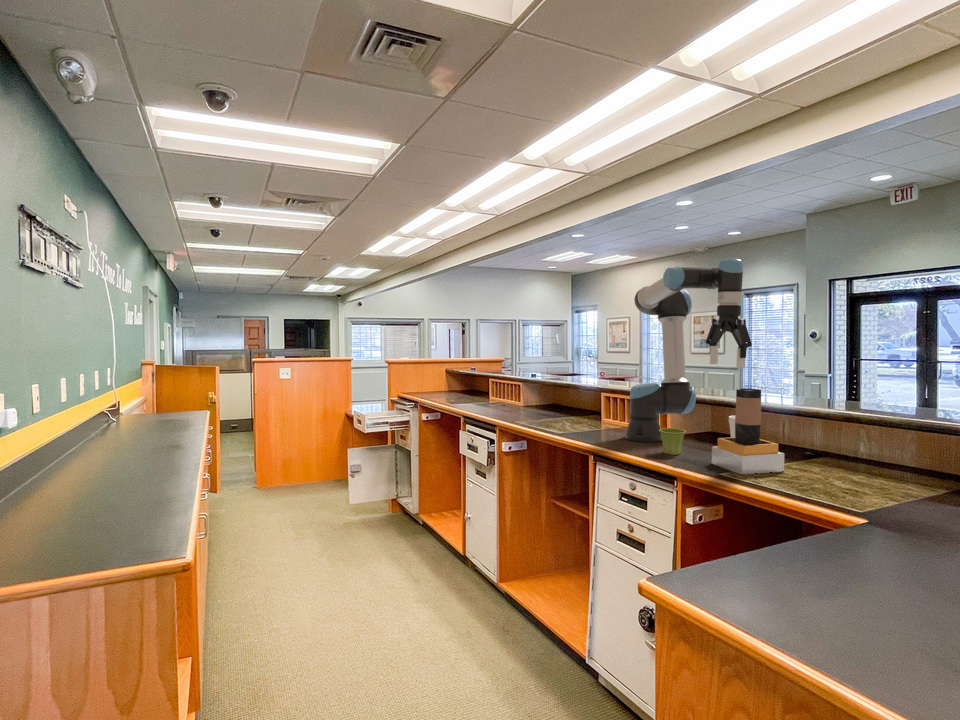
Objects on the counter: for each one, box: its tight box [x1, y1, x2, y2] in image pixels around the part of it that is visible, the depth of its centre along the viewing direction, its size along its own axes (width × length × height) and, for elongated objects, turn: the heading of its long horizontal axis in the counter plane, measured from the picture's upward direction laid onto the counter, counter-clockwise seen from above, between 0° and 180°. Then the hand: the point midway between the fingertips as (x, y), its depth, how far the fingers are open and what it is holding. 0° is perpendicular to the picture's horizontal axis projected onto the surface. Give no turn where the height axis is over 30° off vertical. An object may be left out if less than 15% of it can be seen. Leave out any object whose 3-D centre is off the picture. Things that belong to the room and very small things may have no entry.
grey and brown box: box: [710, 436, 785, 475], centre depth 184 cm, size 15×21×9 cm
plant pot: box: [659, 427, 687, 456], centre depth 205 cm, size 9×9×9 cm
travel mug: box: [734, 388, 762, 445], centre depth 183 cm, size 8×8×20 cm
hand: (726, 365), depth 191 cm, fingers open, 13 cm apart
